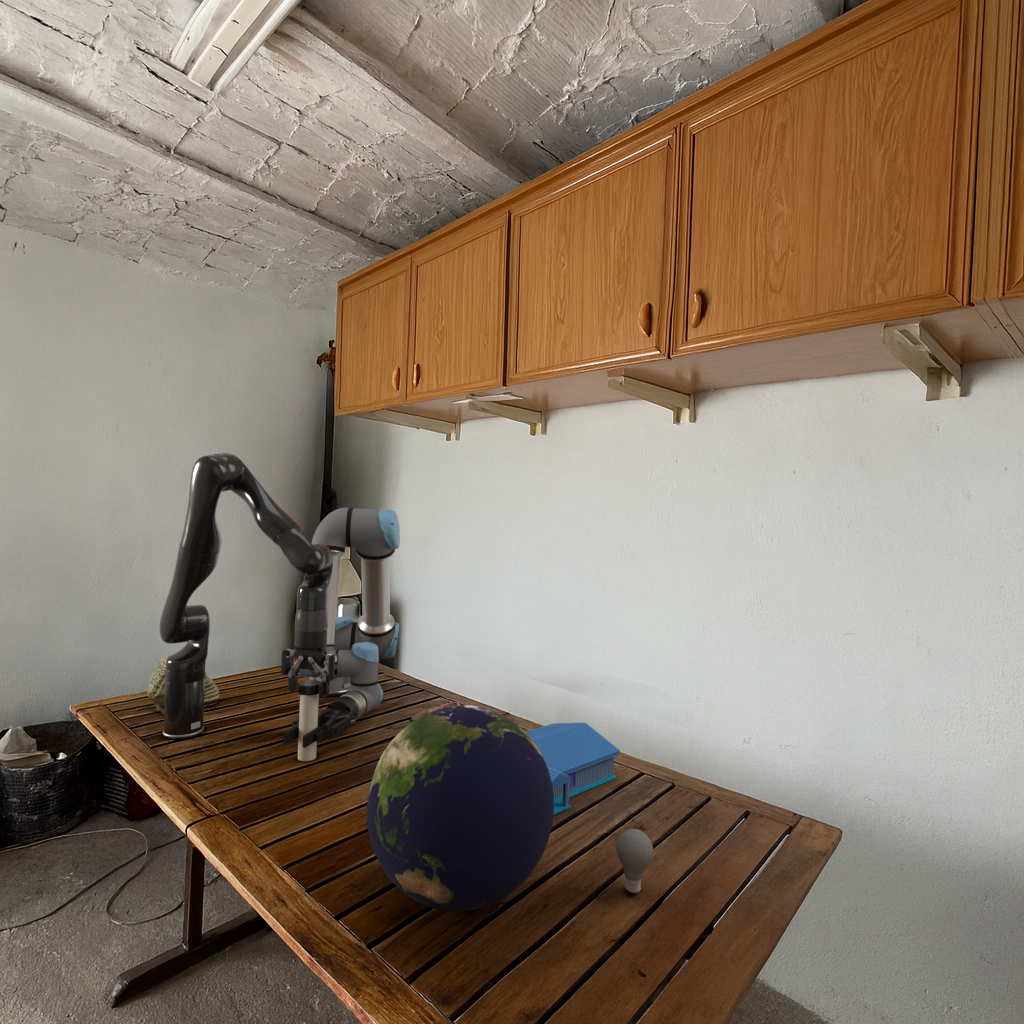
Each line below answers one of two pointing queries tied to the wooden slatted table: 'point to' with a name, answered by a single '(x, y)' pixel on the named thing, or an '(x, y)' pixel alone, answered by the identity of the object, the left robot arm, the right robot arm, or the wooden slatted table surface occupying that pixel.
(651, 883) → the wooden slatted table surface
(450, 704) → the anatomical model
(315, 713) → the cream bottle
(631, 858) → the light bulb
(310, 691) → the lid
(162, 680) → the fossil
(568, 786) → the model building
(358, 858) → the wooden slatted table surface
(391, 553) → the right robot arm
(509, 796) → the globe
